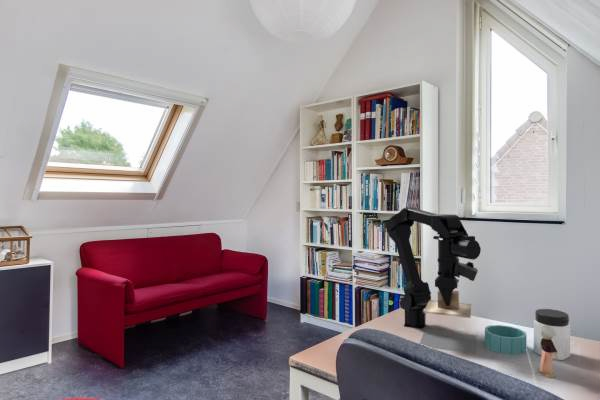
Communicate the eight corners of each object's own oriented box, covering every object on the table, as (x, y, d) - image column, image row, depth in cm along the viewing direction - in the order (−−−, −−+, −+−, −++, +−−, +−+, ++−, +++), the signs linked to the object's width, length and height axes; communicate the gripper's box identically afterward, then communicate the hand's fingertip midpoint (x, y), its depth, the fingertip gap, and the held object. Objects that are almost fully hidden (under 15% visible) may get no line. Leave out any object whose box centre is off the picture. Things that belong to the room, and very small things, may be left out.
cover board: (424, 312, 123) (424, 294, 123) (429, 301, 135) (429, 285, 134) (470, 317, 117) (470, 298, 117) (471, 305, 129) (471, 288, 129)
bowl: (485, 352, 118) (485, 335, 118) (484, 338, 128) (484, 323, 128) (527, 357, 113) (527, 340, 113) (524, 343, 123) (524, 327, 123)
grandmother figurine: (530, 368, 107) (530, 321, 107) (544, 367, 107) (544, 320, 107) (551, 382, 99) (551, 331, 99) (565, 381, 100) (565, 330, 99)
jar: (559, 363, 110) (559, 319, 110) (529, 353, 117) (529, 312, 116) (574, 355, 115) (574, 313, 114) (544, 346, 122) (544, 306, 121)
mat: (418, 347, 122) (418, 345, 122) (425, 330, 137) (425, 328, 137) (475, 355, 116) (475, 353, 116) (476, 336, 130) (476, 335, 130)
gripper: (475, 261, 114) (475, 315, 114) (476, 251, 131) (476, 299, 131) (434, 259, 118) (434, 311, 119) (440, 250, 135) (440, 295, 136)
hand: (448, 304), depth 126 cm, fingers closed on cover board, 3 cm apart
